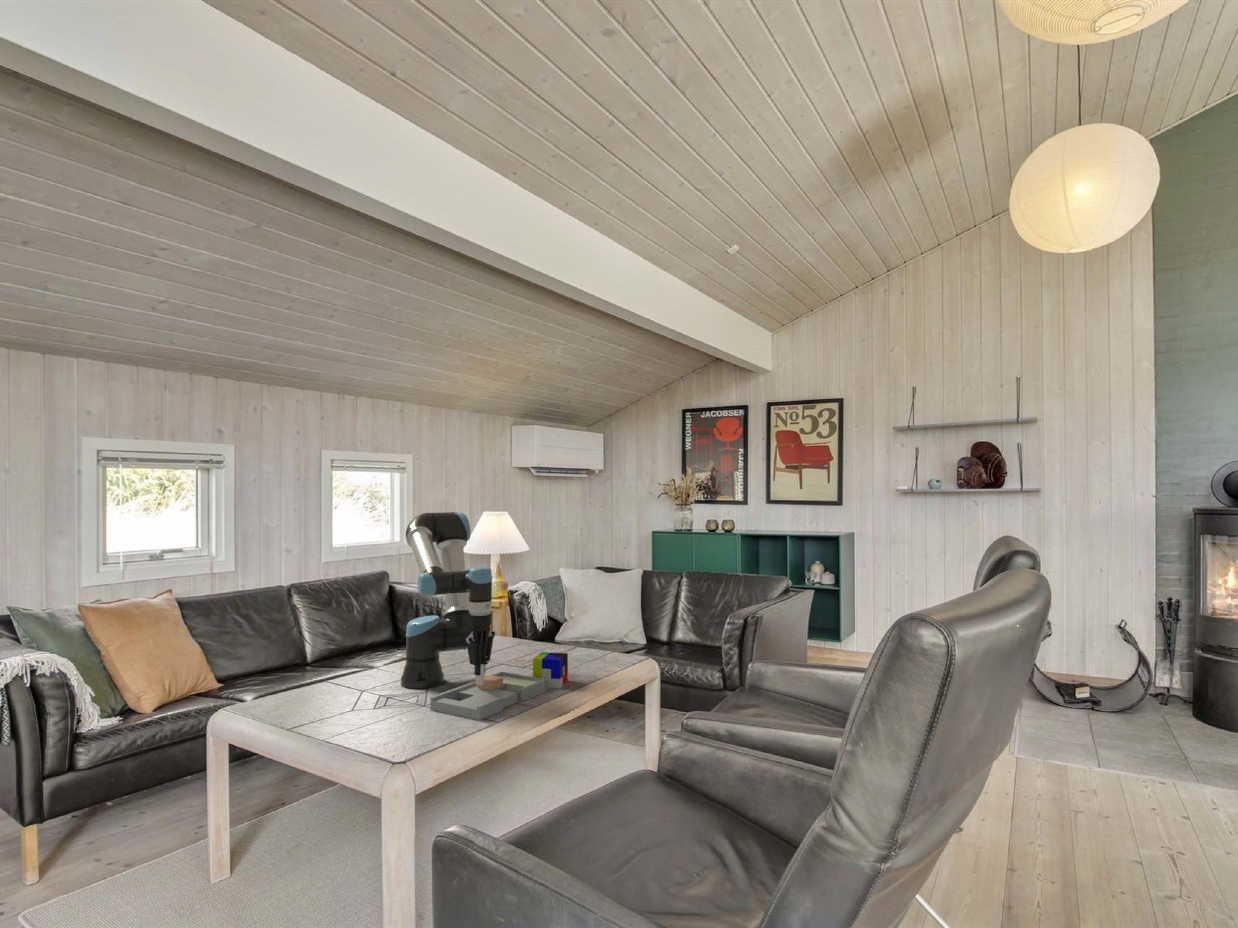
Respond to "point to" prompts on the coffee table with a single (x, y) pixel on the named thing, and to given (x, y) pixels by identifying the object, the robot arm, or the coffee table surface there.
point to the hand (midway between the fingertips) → (479, 684)
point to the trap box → (488, 696)
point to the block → (492, 683)
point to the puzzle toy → (551, 668)
